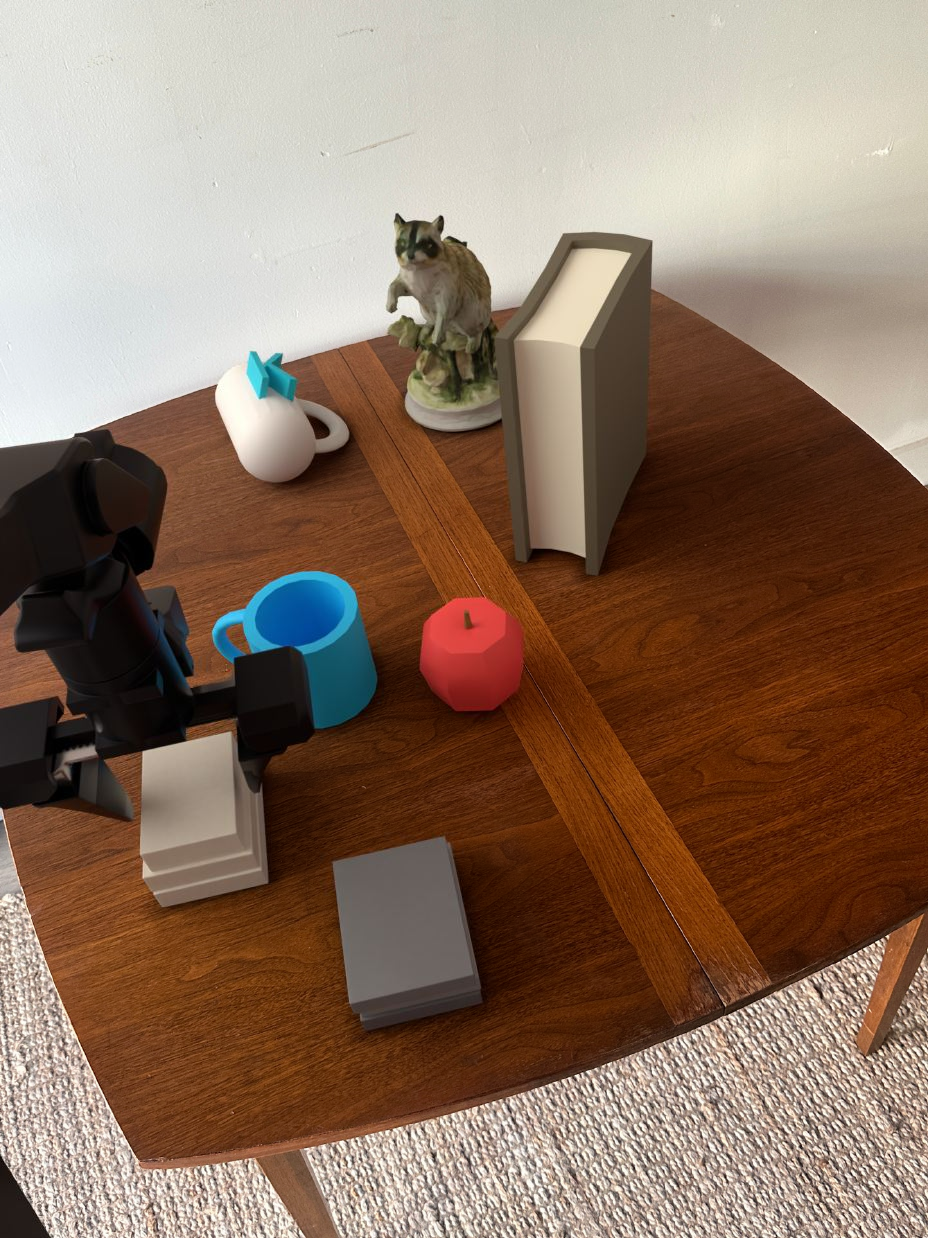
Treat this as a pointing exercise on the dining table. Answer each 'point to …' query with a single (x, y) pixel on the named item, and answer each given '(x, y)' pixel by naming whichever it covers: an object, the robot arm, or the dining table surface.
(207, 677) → the dining table surface
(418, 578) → the dining table surface
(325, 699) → the mug
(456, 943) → the grey pile
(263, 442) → the mug
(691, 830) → the dining table surface
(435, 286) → the figurine
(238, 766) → the white block
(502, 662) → the apple
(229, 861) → the white pile
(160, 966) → the dining table surface
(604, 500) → the book
